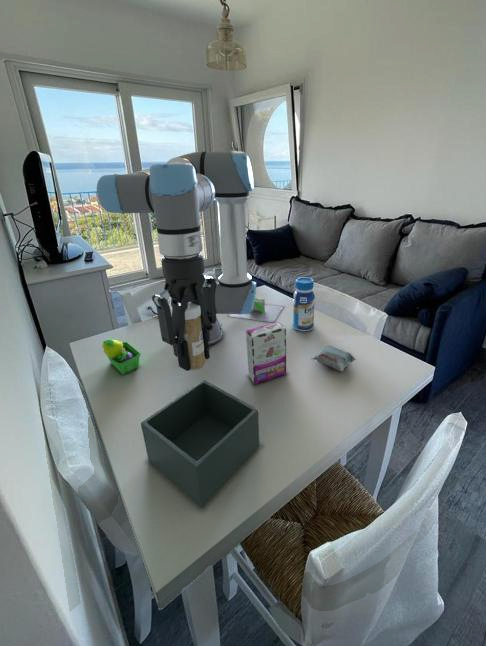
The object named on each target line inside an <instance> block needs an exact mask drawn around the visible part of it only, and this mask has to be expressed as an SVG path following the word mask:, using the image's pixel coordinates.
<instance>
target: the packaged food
mask: <svg viewBox="0 0 486 646" xmlns="http://www.w3.org/2000/svg"><path fill="white" fill-rule="evenodd" d="M310 359H311V360H314V361H317V363H321V364H322V365H326V366H329V367H330V368H331V369H335V370H337V371H339V372H344V370H345V368H346V367H348V365H349V364H351V363H352V362H355V361H356V360H357V359H356V358H355V357H354V356H353V355H352V354H351V352H349V351H346V350H344V349H340V348H337V347H336V346H334V345H331V344H327V345H326V346H325V347H323V349H322V350H320V351H319V352H318V353H317V354H315V355H313V356H311V357H310Z"/></svg>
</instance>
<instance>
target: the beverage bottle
mask: <svg viewBox="0 0 486 646" xmlns="http://www.w3.org/2000/svg"><path fill="white" fill-rule="evenodd" d="M314 283H315V282H314V279H313V278H311V277H303V276H302V277H298V278H296V279H295V291H294V293H293V301H292V305H293V308H292V309H293V310H292V312H293V317H292V318H293V320H292V326H293V329H294V330H296V331H299V332H309V331H311V330H313V328H314V325H315V323H314V321H315V307H316V306H315V305H316V301H315V298H316V296H315V292H314V291H313V290H314Z"/></svg>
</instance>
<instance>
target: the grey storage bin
mask: <svg viewBox="0 0 486 646" xmlns="http://www.w3.org/2000/svg"><path fill="white" fill-rule="evenodd" d="M259 423H260V422H259V409H258V408H256V407H255V406H253V405H251V404H249V403H247V402H246V401H243V400H242V399H240V398H238V397H236V396H234V395H233V394H230V393H229V392H227V391H225V390H224V389H221V388H219V387H218V386H216V385H215V384H213V383H211V382H209V381H207V380H206V379H202V380H201V381H200V382H198V383H197V384H195V385H193V386H192V387H191V388H190V389H188V390H187V391H185V392H184V393H182V394H180V395H179V396H178V397H176V398H175V399H173V400H172V401H170V402H169V403H167V404H165V406H163V407H161V408H159V410H157V411H156V412H154V413H153V414H151V415H150V416H148V417H147V418H146V419H144V420H143V421H141V422H140V426H141V432H142V436H143V441H144V445H145V446H144V447H145V450H146V456H147V461H148V462H149V463H150V464H151V465H153V467H155V468H156V469H157V470H158V471H160V472H161V473H162V474H163V475H164V476H165V477H166V478H167V479H168V480H169V481H170V482H172V483H173V484H174V485H175V486H176V487H177V488H178V489H180V490H181V491H182V492H183V493H184V494H185V495H186V496H188V498H190V499H191V500H192V501H193V502H194V503H195V504H196V505H198V507H200V508H201V509H203V508H204V507H205V506H206V505H207V504H208V502H209V501H211V499H212V498H213V497H214V496H215V495H216V494H217V493H218V492H219V490H220V489H221V488H223V487H224V485H225V484H226V483H227V482H228V481H229V480H230V479H231V477H233V476H234V474H235V473H236V472H237V471H238V470H239V469H240V468H241V467H242V466H243V465H244V464H245V463H246V461H247V460H248V459H249V458H250V457H251V456H252V455H253V454H254V453H255V452H256V451H257V450H258V449H259V447H260V429H259V427H260V426H259V425H260V424H259Z"/></svg>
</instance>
